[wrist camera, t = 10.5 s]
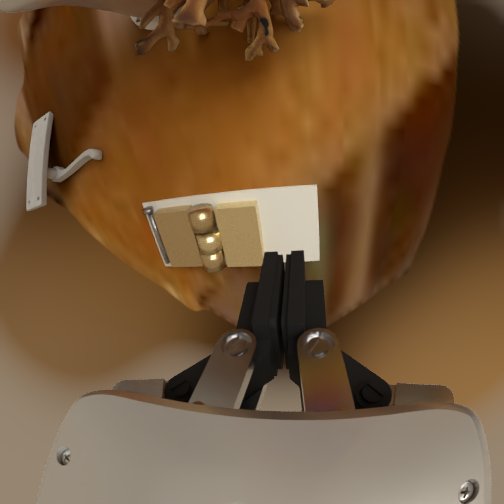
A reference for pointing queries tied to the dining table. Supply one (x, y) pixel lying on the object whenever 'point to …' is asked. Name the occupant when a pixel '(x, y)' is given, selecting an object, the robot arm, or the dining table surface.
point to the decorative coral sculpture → (222, 21)
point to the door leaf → (235, 234)
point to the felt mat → (269, 216)
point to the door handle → (39, 163)
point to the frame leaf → (188, 235)
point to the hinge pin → (156, 232)
